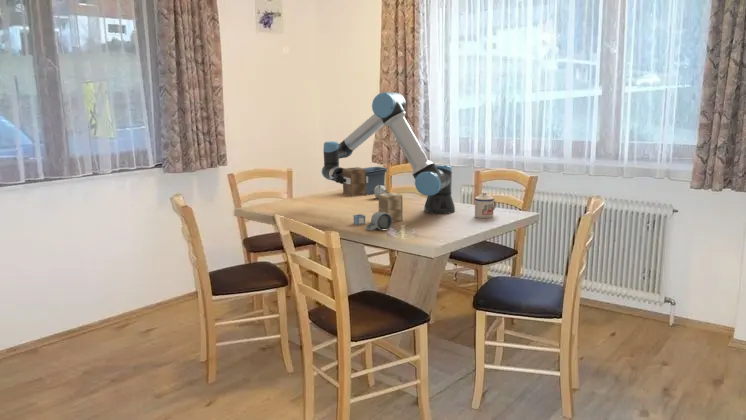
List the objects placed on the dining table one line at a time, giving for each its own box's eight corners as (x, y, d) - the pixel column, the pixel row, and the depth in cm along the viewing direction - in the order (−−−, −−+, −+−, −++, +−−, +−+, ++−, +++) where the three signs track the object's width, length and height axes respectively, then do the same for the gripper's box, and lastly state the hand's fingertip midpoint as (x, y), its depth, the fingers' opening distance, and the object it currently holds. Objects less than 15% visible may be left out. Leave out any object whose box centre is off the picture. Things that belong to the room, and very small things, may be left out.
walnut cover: (358, 192, 290) (358, 167, 288) (366, 194, 283) (365, 169, 281) (343, 193, 287) (342, 168, 284) (350, 196, 279) (349, 170, 277)
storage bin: (363, 196, 346) (362, 171, 344) (345, 193, 358) (345, 169, 355) (390, 192, 360) (389, 168, 358) (372, 189, 372) (372, 166, 369)
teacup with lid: (483, 219, 282) (483, 194, 280) (470, 216, 289) (470, 192, 287) (502, 216, 288) (503, 192, 286) (489, 213, 296) (489, 189, 293)
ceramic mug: (384, 226, 271) (384, 209, 269) (393, 229, 264) (392, 212, 262) (363, 229, 267) (362, 212, 265) (371, 232, 259) (370, 215, 258)
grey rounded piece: (381, 205, 338) (380, 193, 331) (369, 199, 342) (368, 186, 335) (391, 196, 342) (390, 184, 335) (380, 189, 346) (378, 177, 339)
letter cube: (361, 222, 279) (361, 213, 278) (365, 224, 275) (365, 215, 275) (353, 223, 277) (353, 214, 276) (357, 225, 274) (357, 216, 273)
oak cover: (394, 217, 289) (393, 192, 286) (402, 220, 282) (402, 195, 279) (378, 219, 285) (378, 194, 283) (386, 222, 278) (386, 196, 276)
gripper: (358, 180, 305) (379, 186, 285) (319, 184, 295) (337, 190, 275) (358, 165, 303) (378, 170, 283) (319, 168, 294) (337, 174, 274)
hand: (358, 180), depth 279 cm, fingers closed on walnut cover, 8 cm apart
